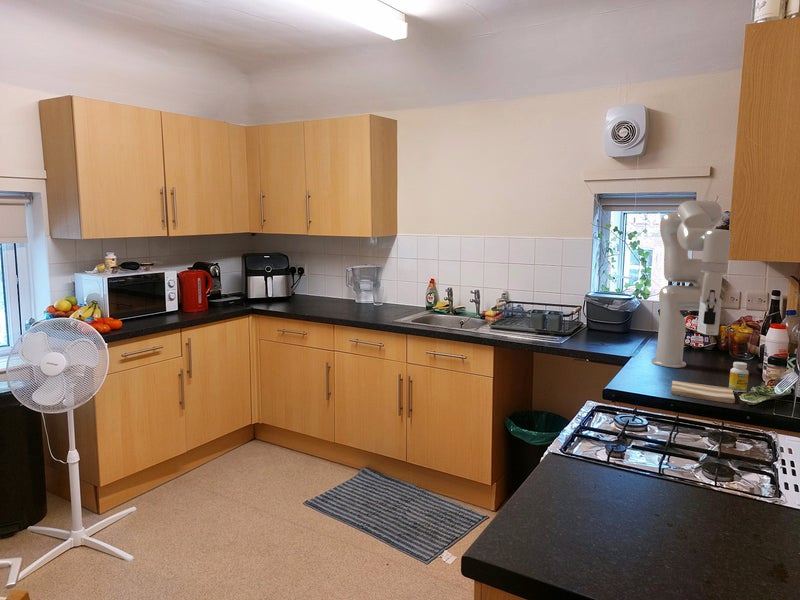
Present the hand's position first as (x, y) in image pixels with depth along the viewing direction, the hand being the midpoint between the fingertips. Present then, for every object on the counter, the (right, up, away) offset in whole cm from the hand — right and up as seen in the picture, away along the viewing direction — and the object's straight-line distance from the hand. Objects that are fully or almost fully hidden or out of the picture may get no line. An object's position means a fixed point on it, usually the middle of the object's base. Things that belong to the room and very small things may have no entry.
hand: (708, 322), depth 192 cm
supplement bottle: (+13, -24, +6) cm, 28 cm away
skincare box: (0, -4, +1) cm, 4 cm away
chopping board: (-2, -24, +1) cm, 24 cm away
